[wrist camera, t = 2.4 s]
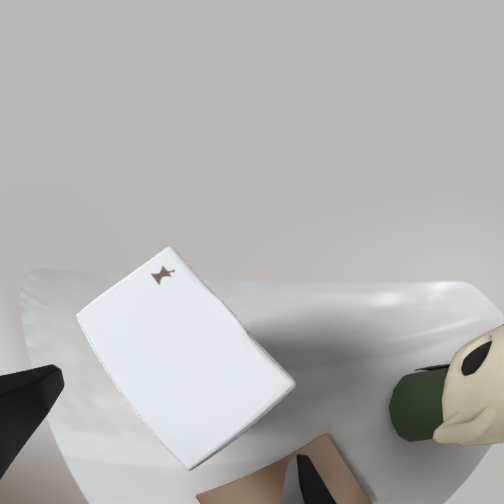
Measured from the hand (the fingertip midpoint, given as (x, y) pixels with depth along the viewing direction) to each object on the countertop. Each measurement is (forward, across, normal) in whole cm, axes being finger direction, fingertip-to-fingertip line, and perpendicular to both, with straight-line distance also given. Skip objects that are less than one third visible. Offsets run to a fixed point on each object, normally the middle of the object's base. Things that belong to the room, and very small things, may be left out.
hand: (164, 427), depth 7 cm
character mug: (+9, -17, +5) cm, 20 cm away
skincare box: (+9, 0, +5) cm, 10 cm away
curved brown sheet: (+3, -8, +11) cm, 14 cm away
